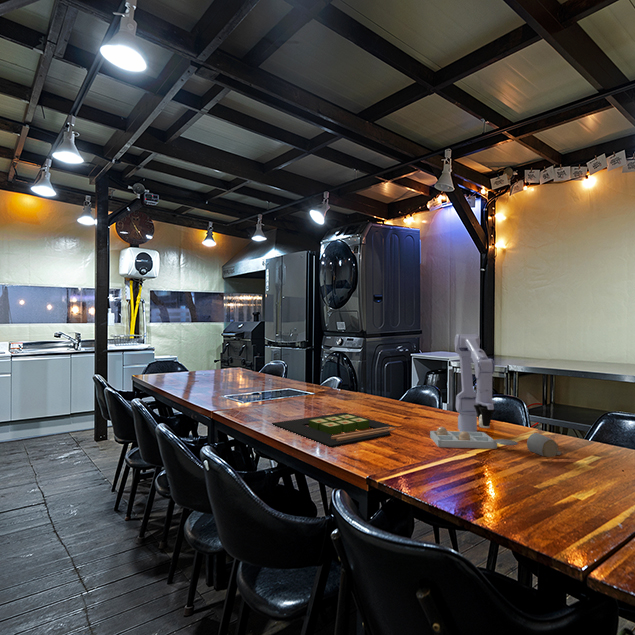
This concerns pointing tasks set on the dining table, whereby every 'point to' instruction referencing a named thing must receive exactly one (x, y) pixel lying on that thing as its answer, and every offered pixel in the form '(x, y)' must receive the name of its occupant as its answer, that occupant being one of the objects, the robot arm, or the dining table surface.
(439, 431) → the brown egg
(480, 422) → the cream egg
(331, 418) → the sushi set
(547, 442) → the ceramic mug
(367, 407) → the dining table surface
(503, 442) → the grey round disc
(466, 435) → the brown egg
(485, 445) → the egg carton
